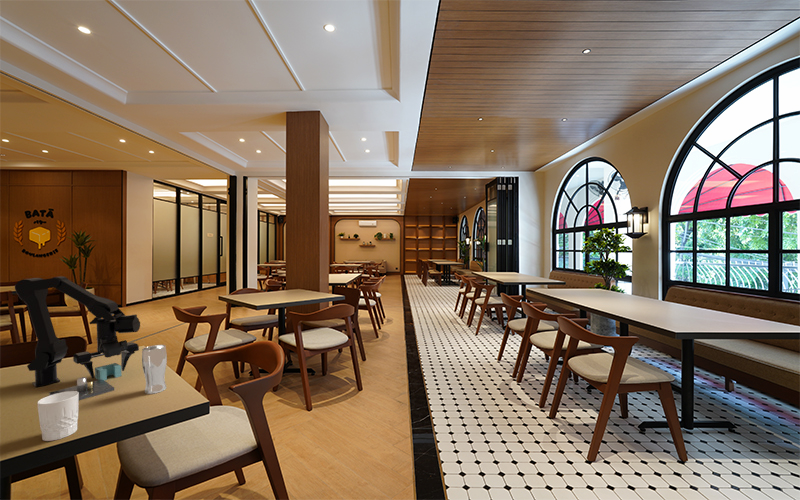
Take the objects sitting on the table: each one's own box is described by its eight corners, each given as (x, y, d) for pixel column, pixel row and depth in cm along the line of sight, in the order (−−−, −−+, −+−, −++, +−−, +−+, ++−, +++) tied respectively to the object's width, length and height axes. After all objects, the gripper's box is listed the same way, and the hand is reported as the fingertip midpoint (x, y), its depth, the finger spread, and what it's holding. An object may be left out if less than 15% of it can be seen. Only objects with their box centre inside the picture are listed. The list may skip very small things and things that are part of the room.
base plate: (49, 395, 118) (48, 381, 118) (101, 381, 130) (101, 368, 130) (59, 405, 110) (58, 390, 110) (114, 390, 122) (113, 375, 121)
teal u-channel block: (95, 378, 134) (94, 367, 134) (116, 372, 139) (115, 362, 139) (100, 381, 130) (100, 370, 130) (121, 376, 135) (121, 365, 135)
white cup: (87, 429, 95) (85, 392, 95) (50, 444, 88) (48, 405, 88) (68, 424, 98) (67, 389, 98) (31, 440, 91) (30, 401, 90)
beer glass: (172, 386, 124) (171, 344, 123) (157, 394, 117) (155, 350, 116) (154, 386, 124) (152, 344, 124) (137, 394, 117) (136, 350, 117)
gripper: (80, 343, 122) (82, 387, 122) (143, 331, 137) (144, 370, 137) (72, 338, 128) (73, 380, 129) (132, 328, 144) (134, 365, 144)
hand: (108, 374), depth 134 cm, fingers open, 9 cm apart
